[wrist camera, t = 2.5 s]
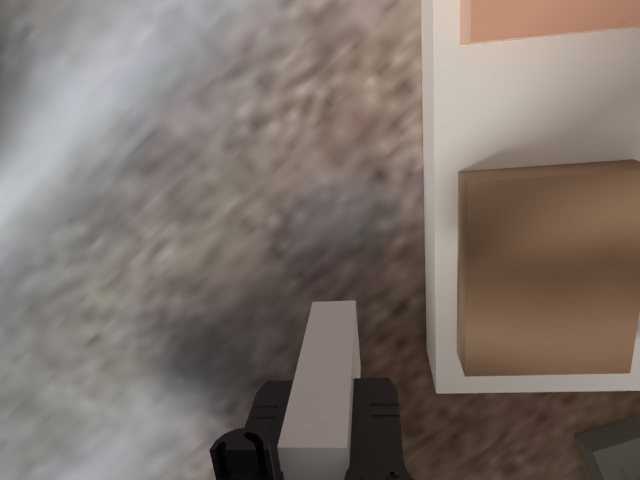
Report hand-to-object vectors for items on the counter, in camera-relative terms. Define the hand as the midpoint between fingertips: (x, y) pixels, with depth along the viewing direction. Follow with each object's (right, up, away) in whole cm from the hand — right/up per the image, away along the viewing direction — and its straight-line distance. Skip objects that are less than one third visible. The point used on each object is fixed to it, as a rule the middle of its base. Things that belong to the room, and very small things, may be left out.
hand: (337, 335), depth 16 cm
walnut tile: (+9, +2, +5) cm, 11 cm away
